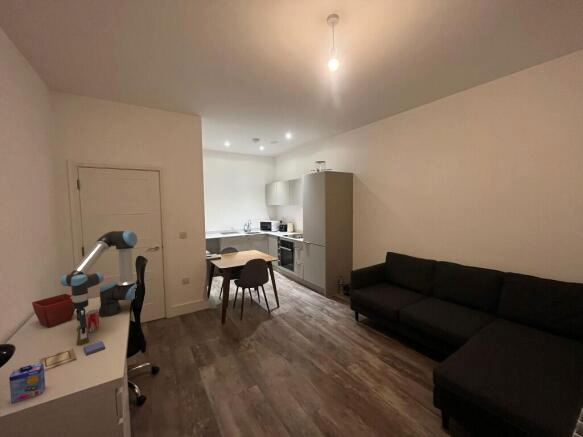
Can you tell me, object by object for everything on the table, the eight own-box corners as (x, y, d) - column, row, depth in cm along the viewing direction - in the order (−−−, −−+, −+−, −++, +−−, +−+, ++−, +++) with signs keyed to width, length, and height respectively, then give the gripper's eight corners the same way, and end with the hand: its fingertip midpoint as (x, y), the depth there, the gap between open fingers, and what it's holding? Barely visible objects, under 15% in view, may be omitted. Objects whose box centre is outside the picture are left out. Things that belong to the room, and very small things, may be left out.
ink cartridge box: (10, 404, 105) (7, 372, 104) (15, 395, 110) (12, 365, 109) (42, 394, 111) (39, 363, 110) (45, 386, 115) (43, 357, 114)
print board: (73, 349, 145) (73, 347, 145) (76, 359, 135) (76, 357, 135) (39, 360, 134) (39, 358, 134) (40, 372, 125) (40, 370, 125)
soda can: (99, 326, 171) (98, 308, 170) (100, 330, 166) (99, 311, 165) (86, 330, 166) (84, 311, 166) (87, 334, 161) (85, 315, 160)
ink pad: (102, 343, 151) (102, 340, 151) (105, 348, 145) (105, 346, 145) (83, 349, 144) (83, 346, 144) (85, 356, 138) (85, 353, 138)
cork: (81, 340, 154) (80, 323, 154) (91, 339, 155) (90, 322, 154) (74, 345, 148) (72, 328, 148) (84, 345, 149) (83, 327, 148)
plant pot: (66, 314, 191) (65, 293, 190) (79, 319, 183) (78, 297, 182) (32, 325, 174) (31, 302, 173) (45, 331, 166) (43, 307, 165)
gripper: (69, 297, 156) (71, 329, 157) (74, 308, 139) (76, 344, 140) (85, 294, 161) (86, 325, 162) (91, 304, 144) (93, 339, 145)
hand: (82, 334), depth 151 cm, fingers open, 13 cm apart
